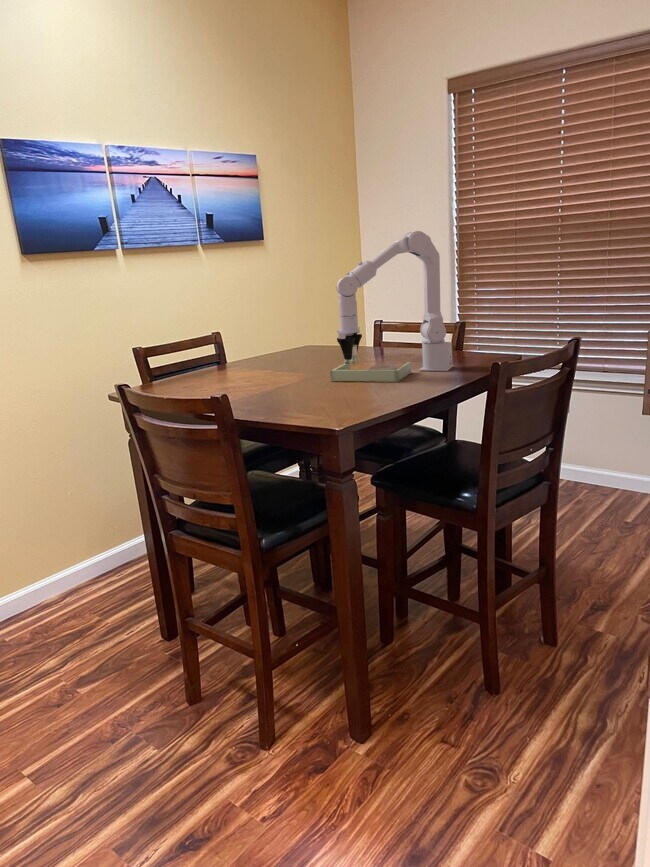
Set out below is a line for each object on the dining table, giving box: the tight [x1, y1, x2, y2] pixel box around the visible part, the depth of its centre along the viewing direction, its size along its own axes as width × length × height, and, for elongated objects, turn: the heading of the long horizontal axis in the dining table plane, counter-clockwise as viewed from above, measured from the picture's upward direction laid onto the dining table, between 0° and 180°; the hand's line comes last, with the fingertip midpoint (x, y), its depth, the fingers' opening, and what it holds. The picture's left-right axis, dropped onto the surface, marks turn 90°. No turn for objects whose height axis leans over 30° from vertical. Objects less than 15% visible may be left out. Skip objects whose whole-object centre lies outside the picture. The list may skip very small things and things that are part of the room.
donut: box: [367, 364, 399, 370], centre depth 205 cm, size 10×4×10 cm
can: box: [343, 344, 359, 365], centre depth 210 cm, size 4×4×6 cm
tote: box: [329, 361, 412, 383], centre depth 207 cm, size 22×15×4 cm
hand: (350, 358), depth 210 cm, fingers closed on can, 4 cm apart
